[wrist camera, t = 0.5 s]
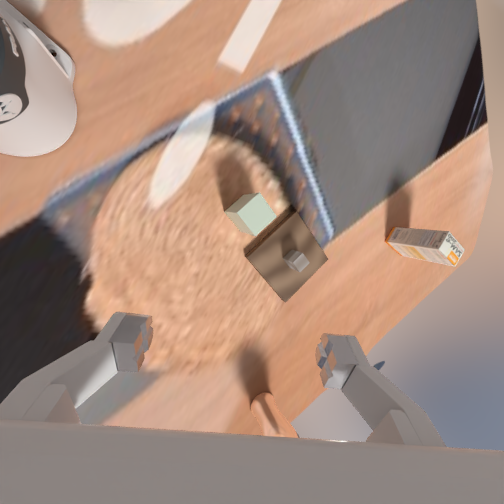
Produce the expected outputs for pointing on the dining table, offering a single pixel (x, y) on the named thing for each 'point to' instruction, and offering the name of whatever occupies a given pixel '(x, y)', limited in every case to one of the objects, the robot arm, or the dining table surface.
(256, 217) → the pale green tall block
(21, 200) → the dining table surface
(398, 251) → the supplement box
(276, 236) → the post base
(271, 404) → the beer glass
